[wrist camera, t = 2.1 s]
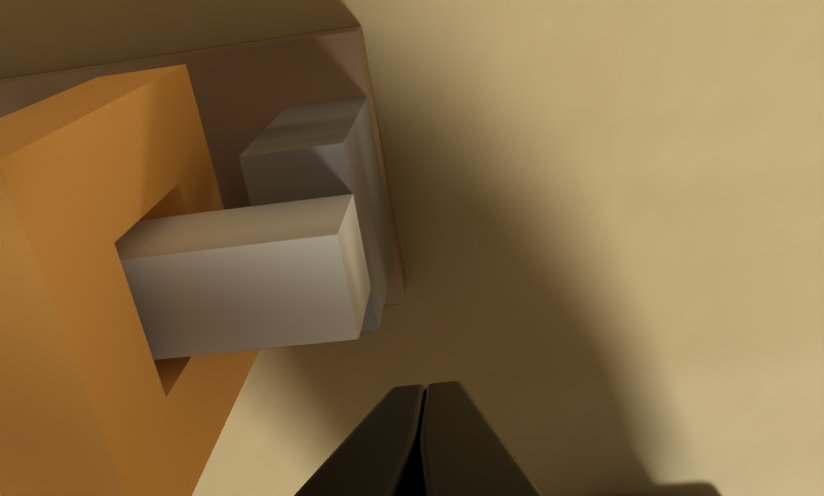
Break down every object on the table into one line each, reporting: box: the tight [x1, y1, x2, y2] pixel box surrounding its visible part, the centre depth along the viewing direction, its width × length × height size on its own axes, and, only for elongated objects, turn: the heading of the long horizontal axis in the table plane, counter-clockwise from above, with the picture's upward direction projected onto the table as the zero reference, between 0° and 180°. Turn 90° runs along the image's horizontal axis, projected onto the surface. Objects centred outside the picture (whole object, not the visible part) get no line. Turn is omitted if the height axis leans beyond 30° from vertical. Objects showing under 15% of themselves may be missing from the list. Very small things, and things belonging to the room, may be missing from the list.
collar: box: [0, 64, 259, 496], centre depth 14 cm, size 7×2×7 cm, turn 9°
